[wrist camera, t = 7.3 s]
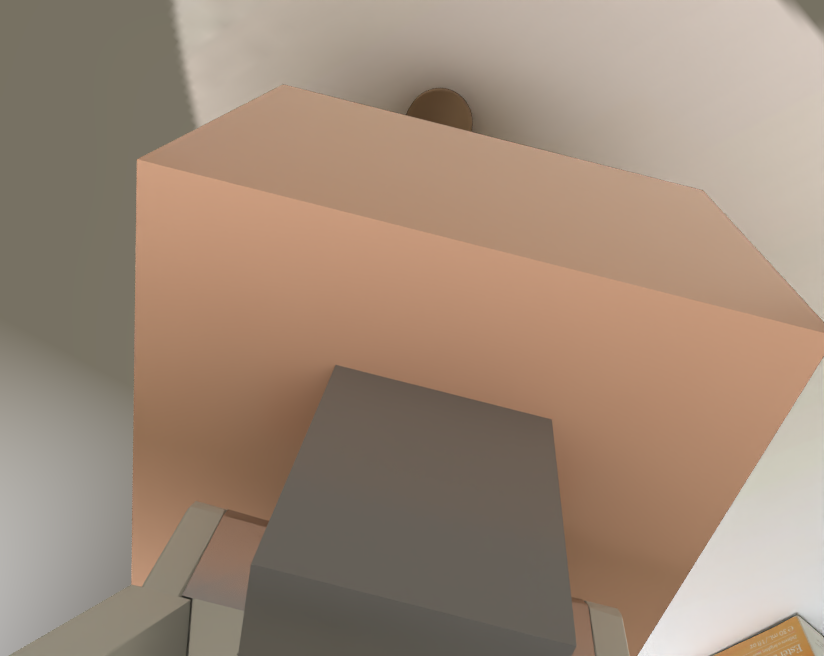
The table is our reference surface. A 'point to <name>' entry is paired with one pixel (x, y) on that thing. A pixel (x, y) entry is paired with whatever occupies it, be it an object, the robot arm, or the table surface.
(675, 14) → the table surface
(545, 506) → the peach base with post
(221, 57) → the table surface
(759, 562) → the table surface
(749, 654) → the small box
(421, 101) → the token
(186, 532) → the robot arm
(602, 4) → the table surface
